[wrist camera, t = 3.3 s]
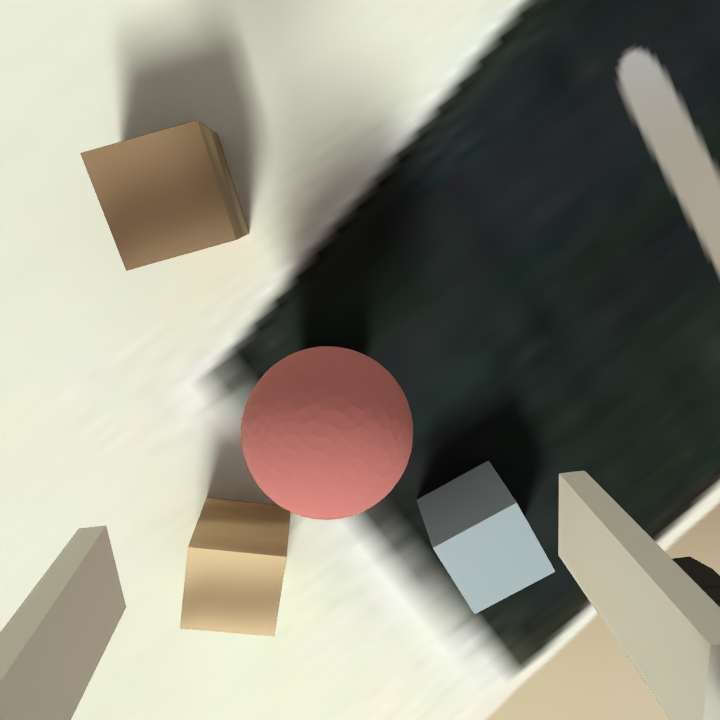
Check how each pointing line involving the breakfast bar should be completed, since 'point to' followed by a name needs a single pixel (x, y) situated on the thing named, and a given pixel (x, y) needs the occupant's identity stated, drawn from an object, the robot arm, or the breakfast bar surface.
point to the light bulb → (327, 433)
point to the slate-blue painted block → (483, 537)
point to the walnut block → (166, 193)
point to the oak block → (235, 568)
